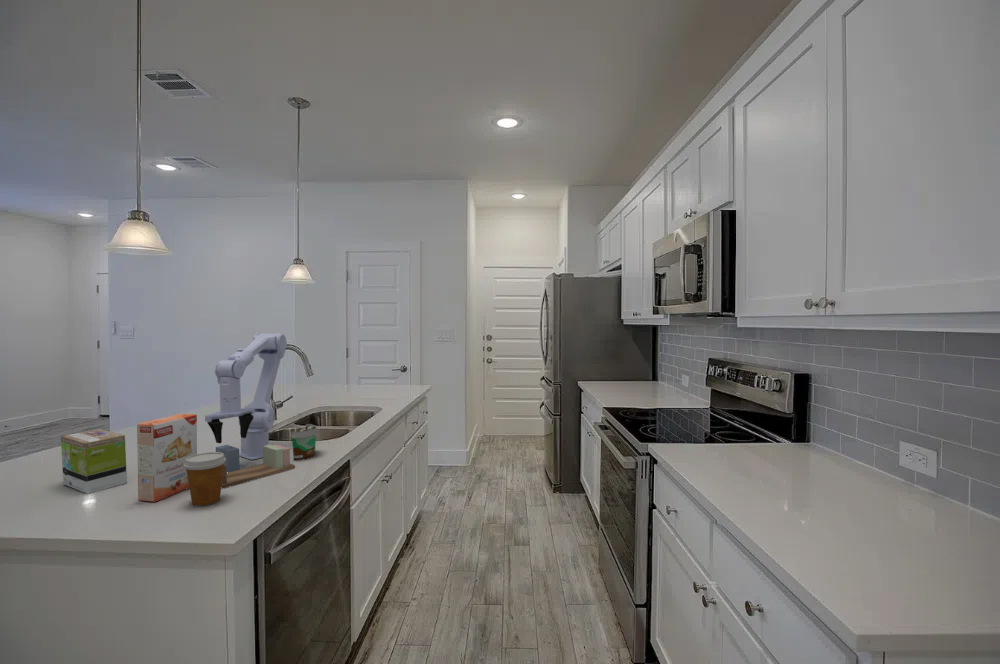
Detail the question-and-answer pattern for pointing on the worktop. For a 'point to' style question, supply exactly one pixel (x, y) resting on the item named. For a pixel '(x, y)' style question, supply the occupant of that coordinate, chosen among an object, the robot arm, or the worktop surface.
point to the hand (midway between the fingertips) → (231, 440)
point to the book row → (276, 456)
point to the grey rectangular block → (230, 457)
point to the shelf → (249, 474)
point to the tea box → (93, 460)
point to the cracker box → (164, 455)
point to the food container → (304, 442)
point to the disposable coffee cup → (205, 477)
